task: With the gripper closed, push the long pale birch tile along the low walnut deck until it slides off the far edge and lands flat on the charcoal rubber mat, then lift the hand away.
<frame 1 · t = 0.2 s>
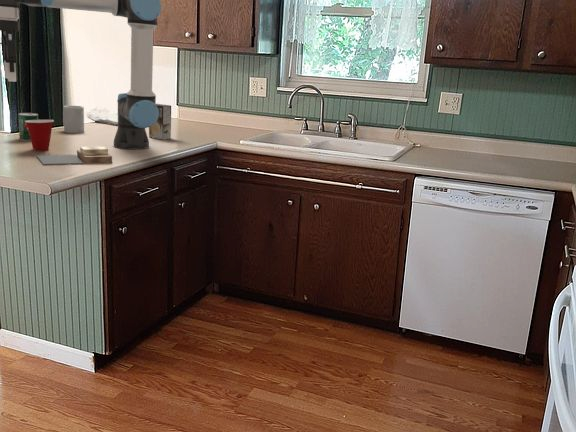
hand: (10, 80, 222), 28 cm above the worktop, fingers open, 13 cm apart
canned tomato: (29, 139, 263), on the worktop
cup: (74, 131, 292), on the worktop
plastic cup: (40, 149, 243), on the worktop
walnut deck: (94, 159, 231), on the worktop
coffee box: (159, 138, 293), on the worktop
rubber mat: (60, 160, 225), on the worktop
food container: (108, 123, 328), on the worktop
birch tile: (94, 153, 230), point 2 cm above the worktop, touching walnut deck
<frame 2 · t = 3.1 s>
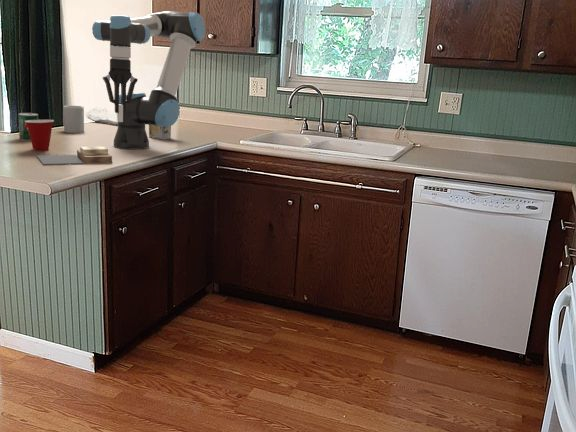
hand: (120, 121, 232), 15 cm above the worktop, fingers closed
nothing on the worktop moved.
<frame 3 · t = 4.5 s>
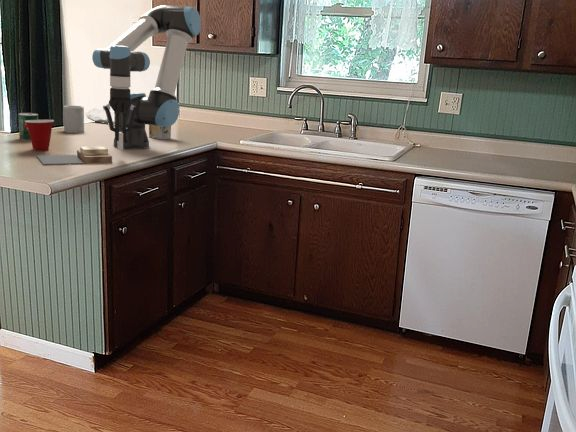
hand: (120, 149, 235), 4 cm above the worktop, fingers closed
nothing on the worktop moved.
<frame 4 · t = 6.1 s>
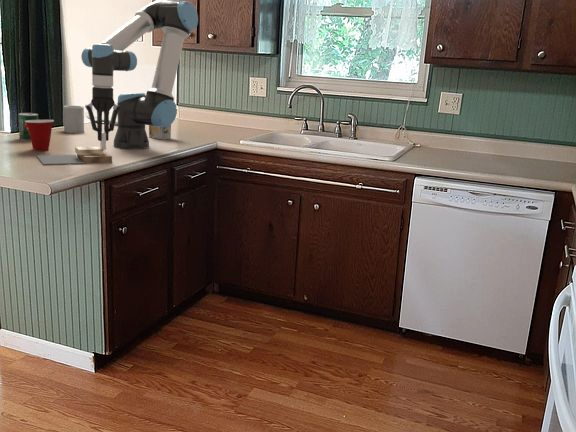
hand: (103, 149, 231), 4 cm above the worktop, fingers closed
birch tile: (89, 153, 229), point 2 cm above the worktop, touching gripper, walnut deck
everything else where it was.
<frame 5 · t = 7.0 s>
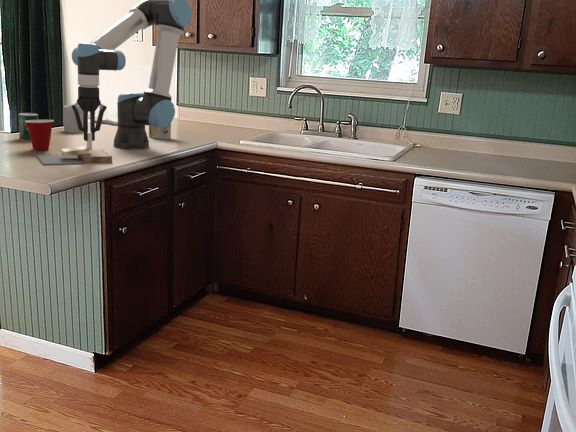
hand: (89, 149, 229), 4 cm above the worktop, fingers closed
birch tile: (75, 154, 227), point 2 cm above the worktop, tilted 6°, touching gripper
everything else where it was.
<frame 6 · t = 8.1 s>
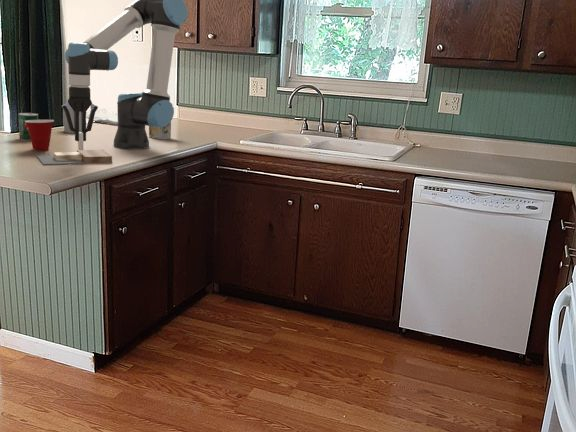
hand: (80, 149, 228), 4 cm above the worktop, fingers closed
birch tile: (67, 158, 226), resting on rubber mat
everything else where it was.
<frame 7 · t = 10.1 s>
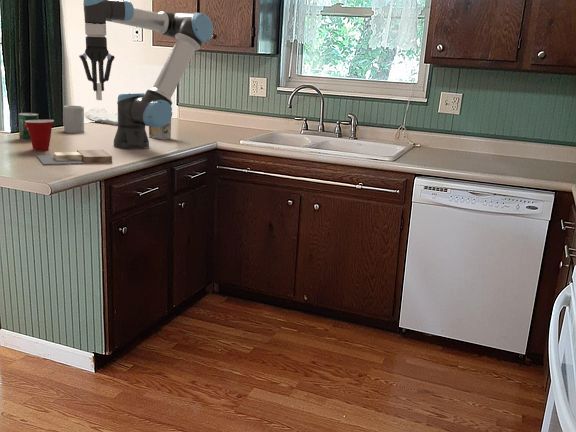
hand: (99, 99, 232), 22 cm above the worktop, fingers closed
nothing on the worktop moved.
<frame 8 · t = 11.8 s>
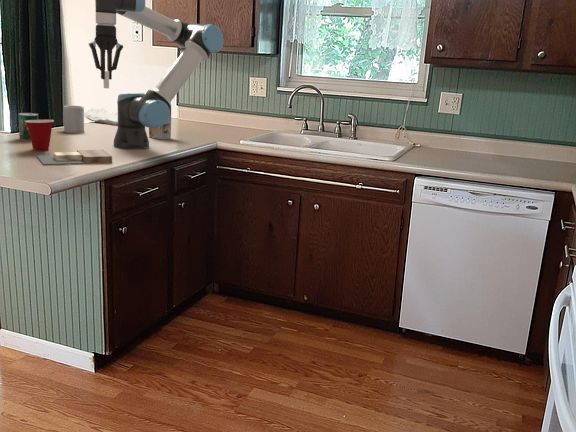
hand: (106, 88, 235), 26 cm above the worktop, fingers closed
nothing on the worktop moved.
at the end: birch tile point 0.5 cm above the worktop; birch tile inside the target area on the rubber mat (2.8 cm from its centre), point 0.5 cm above the rubber mat's base; birch tile tilted 0° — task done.
